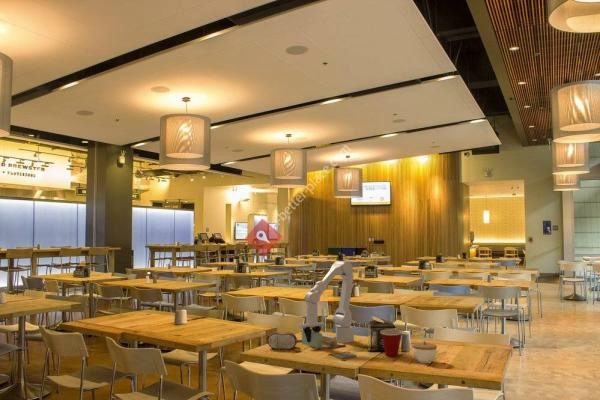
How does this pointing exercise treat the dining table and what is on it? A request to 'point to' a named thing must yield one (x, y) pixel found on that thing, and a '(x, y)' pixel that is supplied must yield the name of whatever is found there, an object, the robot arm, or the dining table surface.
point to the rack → (327, 346)
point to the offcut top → (329, 338)
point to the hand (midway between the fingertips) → (311, 341)
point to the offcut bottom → (329, 343)
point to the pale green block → (313, 339)
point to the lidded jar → (424, 352)
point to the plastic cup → (391, 341)
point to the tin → (282, 340)
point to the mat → (343, 355)
